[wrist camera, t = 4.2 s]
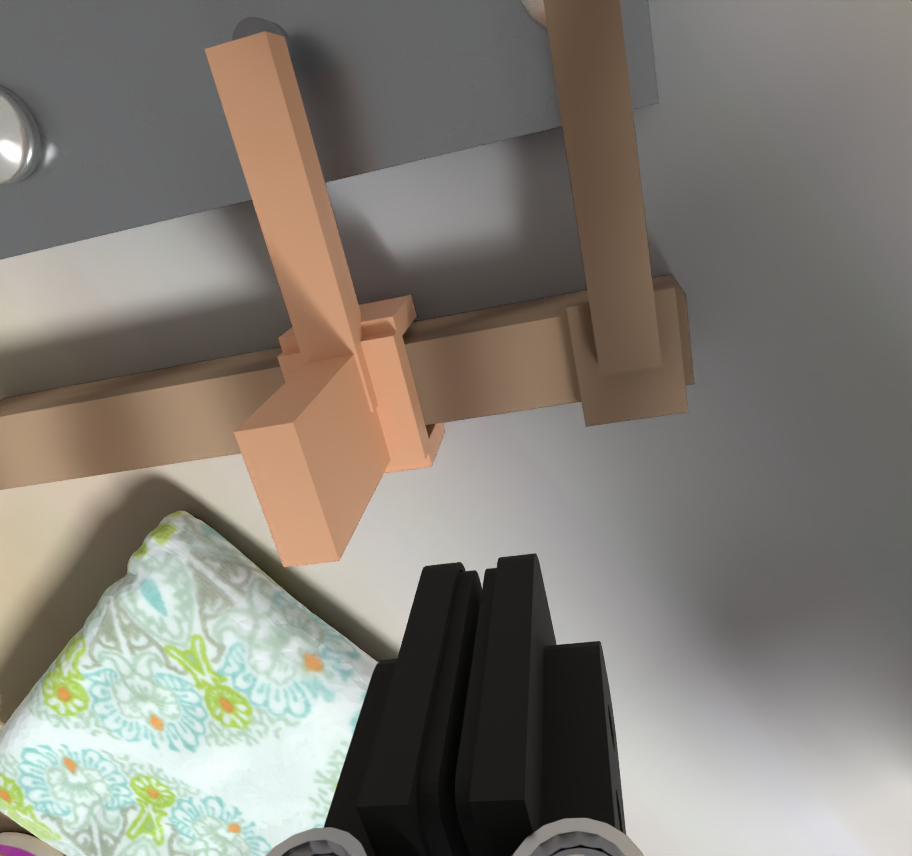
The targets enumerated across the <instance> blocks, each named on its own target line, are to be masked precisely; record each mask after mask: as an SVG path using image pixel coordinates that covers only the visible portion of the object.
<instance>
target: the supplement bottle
mask: <svg viewBox="0 0 912 856" xmlns="http://www.w3.org/2000/svg"><path fill="white" fill-rule="evenodd" d="M0 856H64V855H63V854H62V853H61V852H60V851H58V850H57V849H55V848H53V847H52V846H50V845H49V844H47V843H45V842H44V841H42V840H41V839H38V838H36V837H33V836H30V835H27V834H23V833H17V832H4V833H0Z"/></svg>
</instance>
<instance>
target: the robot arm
mask: <svg viewBox="0 0 912 856" xmlns="http://www.w3.org/2000/svg"><path fill="white" fill-rule="evenodd" d="M265 856H643V853H642V852H641V851H640V849H639V848H638V847H637V846H636V845H635V844H634V843H633V842H632V841H631V839H630V838H629V837H628V836H627V835H626V830H625V820H624V810H623V800H622V790H621V780H620V770H619V760H618V750H617V741H616V732H615V724H614V717H613V709H612V703H611V696H610V690H609V684H608V678H607V672H606V667H605V661H604V656H603V650H602V646H601V642H600V641H596V642H584V643H573V644H562V645H556V640H555V635H554V630H553V626H552V621H551V616H550V611H549V607H548V602H547V597H546V592H545V588H544V583H543V578H542V573H541V569H540V564H539V560H538V557H537V555H536V553H535V554H526V555H518V556H509V557H500V558H499V559H498V563H497V568H492V569H486V570H485V575H484V582H483V589H482V587H481V583H480V579H479V576H478V573H477V571H475V570H474V571H465V568H464V566H463V564H462V563H461V562H457V563H448V564H440V565H431V566H425V567H424V568H423V570H422V573H421V576H420V580H419V584H418V587H417V591H416V594H415V598H414V601H413V605H412V609H411V612H410V616H409V619H408V623H407V626H406V630H405V634H404V637H403V641H402V644H401V648H400V651H399V655H398V659H391V660H381V661H380V662H378V663H377V664H376V666H375V669H374V671H373V673H372V676H371V679H370V682H369V686H368V689H367V692H366V695H365V698H364V701H363V705H362V708H361V711H360V714H359V717H358V720H357V723H356V727H355V730H354V733H353V736H352V739H351V742H350V746H349V749H348V752H347V755H346V758H345V761H344V764H343V768H342V771H341V774H340V777H339V780H338V783H337V787H336V790H335V793H334V796H333V799H332V802H331V805H330V809H329V812H328V815H327V818H326V821H325V824H324V828H312V829H309V830H306V831H303V832H300V833H297V834H294V835H292V836H291V837H289V838H288V839H286V840H284V841H283V842H281V843H280V844H278V845H276V846H275V847H274V848H273V849H272V850H271V851H270V852H269V853H268V854H267V855H265Z"/></svg>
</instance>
